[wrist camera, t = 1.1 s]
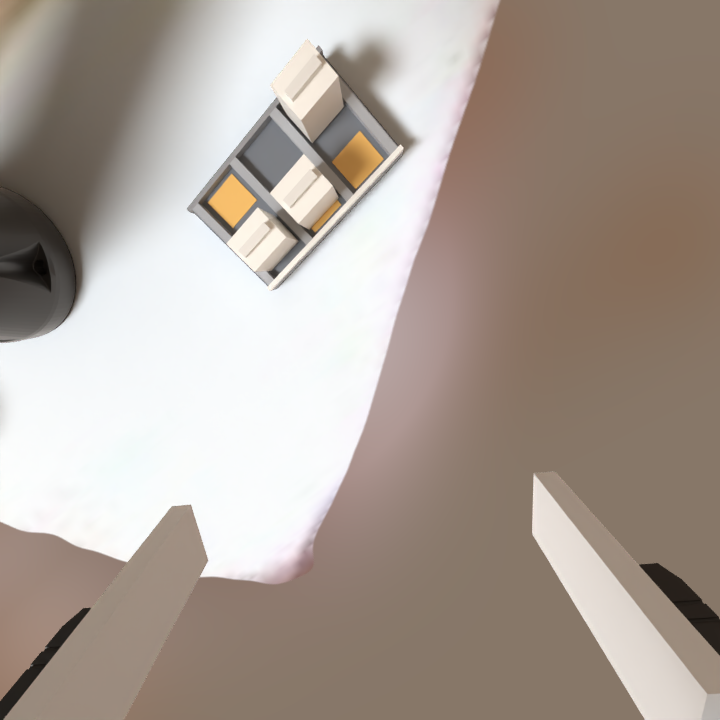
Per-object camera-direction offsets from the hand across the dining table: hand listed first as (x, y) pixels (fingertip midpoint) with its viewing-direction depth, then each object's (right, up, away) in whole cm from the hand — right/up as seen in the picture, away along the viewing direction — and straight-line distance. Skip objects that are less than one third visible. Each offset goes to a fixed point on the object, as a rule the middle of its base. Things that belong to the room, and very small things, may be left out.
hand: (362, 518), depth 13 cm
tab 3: (-4, +20, +17) cm, 27 cm away
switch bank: (-6, +22, +19) cm, 30 cm away
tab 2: (-4, +27, +15) cm, 31 cm away
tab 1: (-8, +17, +18) cm, 26 cm away
